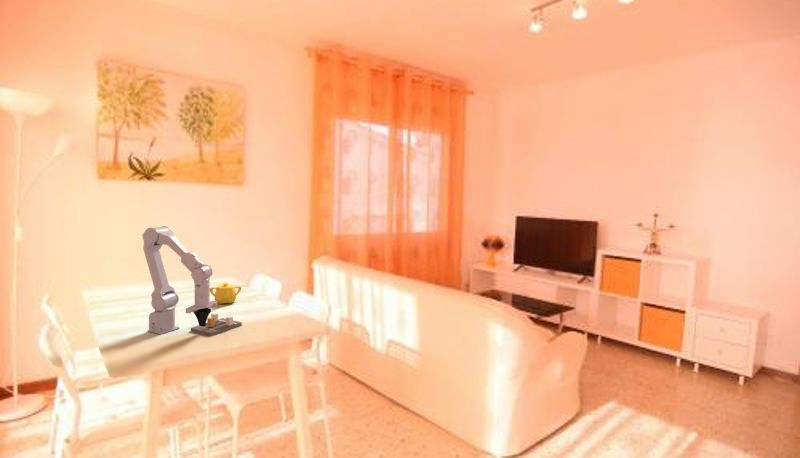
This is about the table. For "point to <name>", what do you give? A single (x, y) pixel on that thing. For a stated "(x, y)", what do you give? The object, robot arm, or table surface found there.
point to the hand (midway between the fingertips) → (202, 326)
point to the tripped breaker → (210, 322)
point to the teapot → (225, 293)
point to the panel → (217, 326)
